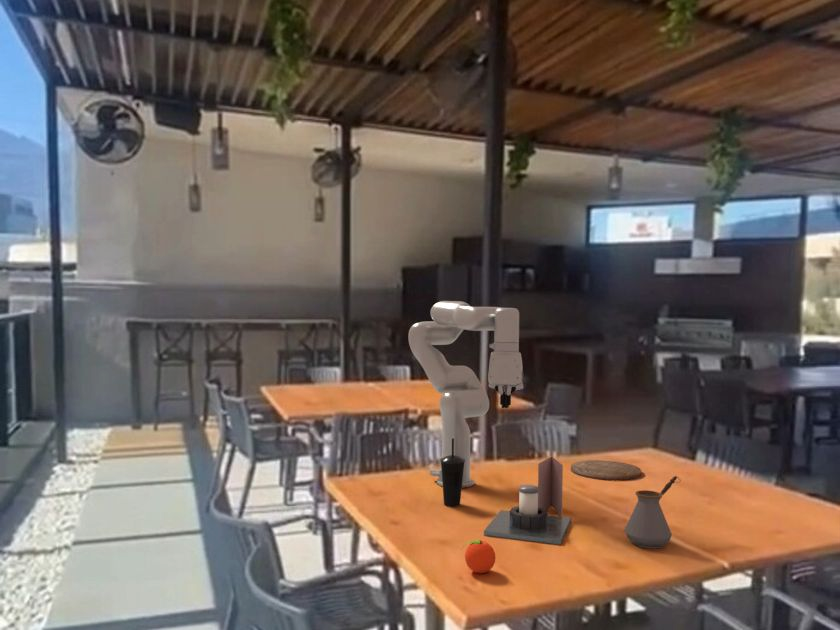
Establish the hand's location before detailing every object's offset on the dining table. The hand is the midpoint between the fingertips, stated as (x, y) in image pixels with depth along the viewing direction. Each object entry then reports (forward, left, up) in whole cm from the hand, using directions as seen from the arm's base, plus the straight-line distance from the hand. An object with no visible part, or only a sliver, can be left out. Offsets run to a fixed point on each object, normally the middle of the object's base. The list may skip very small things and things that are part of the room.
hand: (505, 407), depth 216 cm
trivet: (+26, +52, -30) cm, 66 cm away
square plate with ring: (+12, -23, -29) cm, 39 cm away
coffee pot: (+45, -19, -29) cm, 57 cm away
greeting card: (+16, -5, -29) cm, 34 cm away
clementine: (+7, -58, -29) cm, 65 cm away
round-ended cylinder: (+12, -23, -28) cm, 38 cm away
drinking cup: (-14, -9, -29) cm, 34 cm away
